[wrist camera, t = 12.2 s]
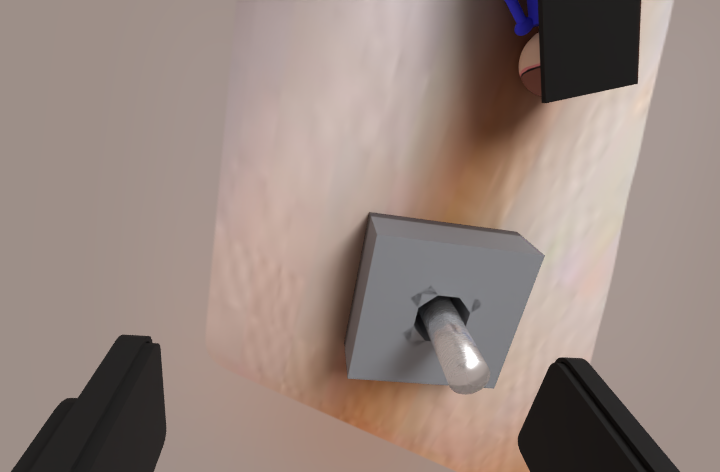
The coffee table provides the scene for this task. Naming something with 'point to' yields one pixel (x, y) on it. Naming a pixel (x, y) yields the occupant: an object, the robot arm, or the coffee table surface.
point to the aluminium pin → (454, 346)
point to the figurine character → (578, 46)
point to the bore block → (434, 295)
